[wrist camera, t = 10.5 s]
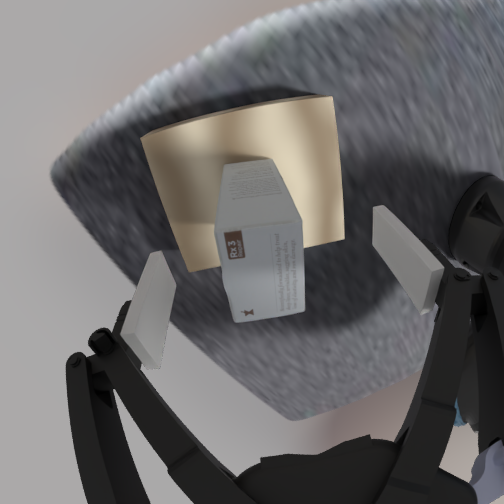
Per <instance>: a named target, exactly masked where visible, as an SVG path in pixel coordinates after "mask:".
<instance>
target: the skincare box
mask: <svg viewBox="0 0 504 504" xmlns="http://www.w3.org/2000/svg"><path fill="white" fill-rule="evenodd" d="M302 224H303V220H302V218H301V216H300V214H299V212H298V210H297V208H296V206H295V203H294V201H293V199H292V197H291V195H290V192H289V190H288V188H287V186H286V184H285V182H284V180H283V178H282V176H281V174H280V172H279V170H278V168H277V166H276V164H275V163H274V161H273V159H265V160H255V161H247V162H239V163H231V164H225V165H224V167H223V173H222V179H221V185H220V192H219V198H218V204H217V211H216V218H215V226H214V236H215V240H216V245H217V250H218V255H219V259H220V264H221V269H222V279H223V284H224V288H225V291H226V293H227V296H228V300H229V305H230V309H231V312H232V317H233V320H234V322H235V323H239V322H248V321H255V320H261V319H268V318H274V317H280V316H286V315H291V314H295V313H300V312H303V311H305V277H304V244H303V227H302Z"/></svg>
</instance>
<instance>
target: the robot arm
mask: <svg viewBox="0 0 504 504" xmlns="http://www.w3.org/2000/svg"><path fill="white" fill-rule="evenodd" d="M372 245H373V246H374V248H375V249H376V250H377V252H378V253H379V254H380V256H381V257H382V259H383V260H384V261H385V263H386V264H387V266H388V267H389V268H390V270H391V271H392V273H393V274H394V275H395V277H396V278H397V280H398V281H399V283H400V284H401V286H402V287H403V289H404V290H405V292H406V293H407V295H408V296H409V298H410V299H411V301H412V302H413V304H414V305H415V307H416V308H417V310H418V311H419V313H420V315H422V314H425V313H427V312H430V311H433V308H434V304H435V302H436V304H437V305H438V307H439V308H438V311H437V314H436V317H435V320H434V322H435V325H434V330H433V334H432V338H431V342H430V346H429V350H428V353H427V357H426V360H425V364H424V367H423V371H422V374H421V377H420V380H419V383H418V386H417V389H416V392H415V395H414V398H413V400H412V403H411V405H410V408H409V411H408V413H407V416H406V418H405V421H404V423H403V425H402V427H401V429H400V431H399V433H398V435H397V437H396V439H395V441H394V442H392V441H388V440H383V439H371V437H370V435H366V436H362V437H359V438H356V439H353V440H349V441H345V442H343V443H341V444H339V445H337V446H335V447H333V448H331V449H329V450H327V451H325V452H323V453H320V454H318V455H300V454H299V455H298V454H283V455H278V456H269V457H263V458H262V457H261V458H260V460H261V463H258V464H256V465H254V466H252V467H250V468H248V469H246V470H245V471H244V472H242V473H241V474H240V475H239V476H238V477H236V476H235V475H234V474H233V473H232V472H231V471H230V470H228V469H227V468H226V467H225V466H224V465H223V464H221V463H220V462H219V461H218V460H217V459H216V458H215V457H214V456H213V455H212V454H211V453H210V452H209V451H208V450H207V449H206V448H205V447H204V446H203V444H202V443H201V442H200V441H199V440H198V439H197V438H196V437H195V436H194V435H193V434H192V433H191V432H190V431H189V429H188V428H187V427H186V426H185V425H184V424H183V423H182V421H181V420H180V419H179V418H178V417H177V416H176V414H175V413H174V412H173V411H172V410H171V408H170V407H169V406H168V405H167V403H166V402H165V401H164V400H163V398H162V397H161V396H160V395H159V393H158V392H157V391H156V389H155V388H154V387H153V386H152V384H151V383H150V382H149V380H148V379H147V378H146V376H145V375H144V373H143V372H142V371H141V370H140V368H141V364H143V365H144V367H145V368H146V369H160V367H161V361H162V355H163V349H164V344H165V339H166V333H167V328H168V323H169V318H170V313H171V309H172V304H173V299H174V295H175V290H176V286H177V285H176V282H175V280H174V278H173V276H172V274H171V271H170V269H169V267H168V265H167V262H166V260H165V258H164V255H163V253H162V251H157V252H153V253H150V255H149V258H148V260H147V263H146V265H145V268H144V270H143V273H142V275H141V278H140V280H139V283H138V286H137V288H136V291H135V294H134V296H133V299H132V300H130V301H126V302H125V304H124V305H123V306H122V308H121V310H120V312H119V316H118V317H117V322H116V323H115V326H114V329H113V331H112V333H111V331H110V330H109V329H108V328H100V329H98V330H96V331H95V332H94V333H92V335H91V336H90V338H89V340H88V345H89V347H90V348H91V349H92V350H93V351H94V353H95V354H94V355H92V356H89V357H86V356H85V355H84V354H83V353H82V352H77V353H74V354H73V355H71V356H70V357H69V358H68V360H67V362H66V383H67V397H68V408H69V416H70V425H71V432H72V438H73V444H74V449H75V455H76V459H77V464H78V469H79V473H80V477H81V481H82V484H83V489H84V492H85V496H86V499H87V503H88V504H150V501H149V499H148V496H147V494H146V492H145V489H144V487H143V484H142V482H141V479H140V477H139V474H138V472H137V469H136V466H135V464H134V461H133V458H132V455H131V452H130V449H129V446H128V443H127V440H126V437H125V433H124V430H123V427H122V423H121V420H120V416H119V412H118V408H117V405H116V400H115V396H114V392H113V389H115V390H116V392H117V393H118V395H119V397H120V399H121V400H122V402H123V404H124V405H125V407H126V409H127V410H128V412H129V413H130V415H131V416H132V418H133V420H134V421H135V423H136V424H137V426H138V427H139V429H140V430H141V432H142V433H143V435H144V436H145V438H146V439H147V440H148V442H149V443H150V445H151V446H152V447H153V449H154V450H155V451H156V453H157V454H158V456H159V457H160V458H161V459H162V461H163V462H164V463H165V465H166V466H167V468H168V470H167V471H168V474H169V475H170V476H171V478H172V479H173V480H174V482H175V483H176V484H177V485H178V486H179V487H180V488H181V490H182V491H183V492H184V493H185V494H186V495H187V496H188V498H189V499H190V500H191V501H192V502H193V503H194V504H489V503H491V502H492V501H494V500H496V499H497V498H499V497H500V496H502V495H504V181H502V180H501V179H499V178H497V177H495V176H486V177H483V178H481V179H480V180H478V181H477V182H475V183H474V184H473V185H472V186H471V187H470V188H469V189H468V191H467V192H466V193H465V195H464V196H463V198H462V199H461V201H460V203H459V205H458V207H457V209H456V211H455V213H454V216H453V219H452V222H451V226H450V232H449V247H450V251H451V253H452V255H453V256H454V257H455V259H456V260H457V261H458V262H459V263H460V264H461V265H462V266H464V267H465V268H467V269H470V270H472V271H474V272H476V273H478V274H480V275H477V276H471V275H470V273H469V272H468V271H466V270H464V269H462V268H455V267H454V266H453V265H452V264H451V263H450V262H449V261H448V260H447V258H446V257H445V256H444V255H443V254H441V252H440V251H439V250H437V248H436V247H435V246H434V245H433V244H432V243H431V242H429V241H427V240H425V239H423V240H419V239H418V238H417V237H416V236H415V235H414V234H413V233H412V232H411V231H410V230H409V229H408V228H407V227H406V226H405V225H404V224H403V223H402V222H401V221H400V220H399V219H398V218H397V217H396V216H395V215H394V214H393V213H392V212H391V211H390V210H388V209H387V208H386V207H385V206H384V205H381V206H375V207H373V237H372ZM470 319H471V321H470ZM467 423H469V424H470V426H471V428H472V430H473V431H474V432H475V433H478V447H479V455H478V456H477V458H476V460H475V462H474V465H473V467H472V471H471V472H472V478H471V480H470V482H469V483H468V482H466V481H464V480H462V479H460V478H458V477H456V476H454V475H452V474H450V473H448V472H447V471H444V470H443V469H441V468H439V465H440V462H441V460H442V457H443V455H444V452H445V449H446V446H447V443H448V441H449V438H450V435H451V431H452V428H453V425H454V426H458V427H459V426H461V425H465V424H467Z"/></svg>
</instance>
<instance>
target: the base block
mask: <svg viewBox="0 0 504 504" xmlns="http://www.w3.org/2000/svg"><path fill="white" fill-rule="evenodd" d="M140 139H141V142H142V145H143V148H144V151H145V154H146V157H147V160H148V163H149V167H150V170H151V172H152V175H153V178H154V181H155V184H156V187H157V190H158V193H159V196H160V198H161V201H162V204H163V207H164V209H165V212H166V215H167V218H168V220H169V223H170V226H171V228H172V231H173V233H174V236H175V239H176V241H177V244H178V246H179V249H180V251H181V254H182V256H183V259H184V261H185V264H186V266H187V269H188V271H189V272H194V271H198V270H203V269H208V268H213V267H217V266H221V264H220V259H219V255H218V250H217V245H216V240H215V236H214V226H215V218H216V211H217V204H218V198H219V192H220V185H221V179H222V173H223V167H224V165H225V164H231V163H239V162H247V161H255V160H265V159H273V161H274V163H275V164H276V166H277V168H278V170H279V172H280V174H281V176H282V178H283V180H284V182H285V184H286V186H287V188H288V190H289V192H290V195H291V197H292V199H293V201H294V203H295V206H296V208H297V210H298V212H299V214H300V216H301V218H302V220H303V224H302V227H303V244H304V248H306V247H311V246H315V245H320V244H325V243H329V242H334V241H338V240H343V239H345V237H344V210H343V192H342V178H341V165H340V155H339V145H338V136H337V127H336V119H335V112H334V105H333V98H332V96H326V95H318V94H317V95H308V96H300V97H293V98H286V99H279V100H273V101H267V102H261V103H256V104H251V105H246V106H241V107H236V108H231V109H227V110H223V111H218V112H214V113H210V114H206V115H202V116H199V117H195V118H191V119H188V120H184V121H181V122H177V123H174V124H171V125H168V126H164V127H161V128H158V129H155V130H152V131H151V132H149V133H147V134H146V135H144V136H143V137H141V138H140Z"/></svg>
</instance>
